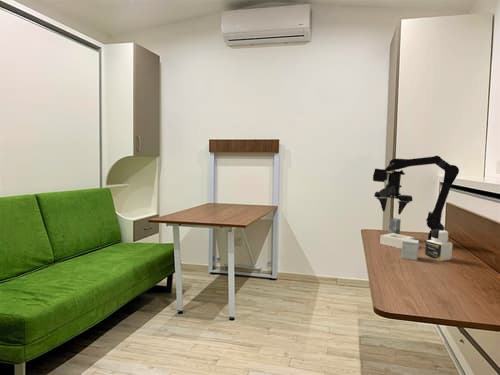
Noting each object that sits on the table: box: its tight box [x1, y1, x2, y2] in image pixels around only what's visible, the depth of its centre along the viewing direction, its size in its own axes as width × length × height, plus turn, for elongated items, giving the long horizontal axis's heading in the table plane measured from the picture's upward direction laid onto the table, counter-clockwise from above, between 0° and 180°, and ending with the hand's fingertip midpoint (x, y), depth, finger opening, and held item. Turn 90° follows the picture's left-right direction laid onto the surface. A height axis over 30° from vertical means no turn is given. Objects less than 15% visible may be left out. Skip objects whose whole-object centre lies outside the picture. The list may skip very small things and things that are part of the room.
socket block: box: [379, 233, 415, 250], centre depth 167 cm, size 11×11×4 cm
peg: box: [387, 217, 401, 235], centre depth 182 cm, size 4×4×10 cm
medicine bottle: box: [424, 229, 453, 262], centre depth 145 cm, size 7×7×12 cm
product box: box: [400, 238, 420, 261], centre depth 145 cm, size 6×6×7 cm
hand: (391, 212), depth 181 cm, fingers open, 9 cm apart
